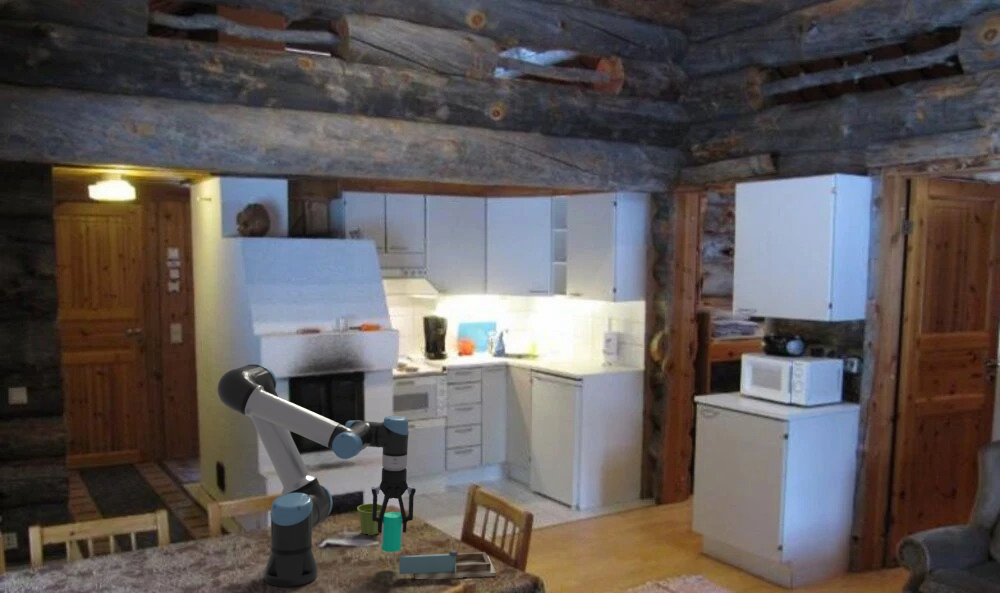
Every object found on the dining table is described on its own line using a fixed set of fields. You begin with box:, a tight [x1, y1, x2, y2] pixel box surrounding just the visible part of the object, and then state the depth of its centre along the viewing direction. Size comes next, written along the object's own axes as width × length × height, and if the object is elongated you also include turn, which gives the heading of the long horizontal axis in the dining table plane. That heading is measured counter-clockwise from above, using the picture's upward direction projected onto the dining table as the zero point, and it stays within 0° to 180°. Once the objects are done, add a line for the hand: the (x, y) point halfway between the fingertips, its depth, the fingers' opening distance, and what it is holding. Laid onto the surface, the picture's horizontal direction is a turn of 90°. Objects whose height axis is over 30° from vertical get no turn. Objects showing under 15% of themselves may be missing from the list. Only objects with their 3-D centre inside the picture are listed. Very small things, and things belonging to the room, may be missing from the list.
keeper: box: [398, 549, 459, 575], centre depth 242 cm, size 2×17×6 cm, turn 100°
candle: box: [380, 511, 402, 553], centre depth 249 cm, size 6×6×12 cm
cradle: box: [413, 551, 497, 580], centre depth 248 cm, size 24×14×3 cm, turn 100°
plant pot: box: [356, 503, 382, 536], centre depth 279 cm, size 9×9×9 cm
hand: (391, 542), depth 249 cm, fingers closed on candle, 5 cm apart
